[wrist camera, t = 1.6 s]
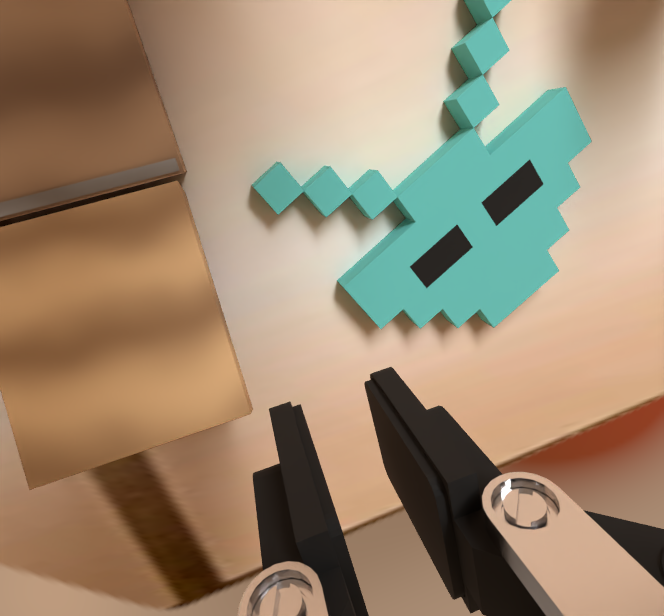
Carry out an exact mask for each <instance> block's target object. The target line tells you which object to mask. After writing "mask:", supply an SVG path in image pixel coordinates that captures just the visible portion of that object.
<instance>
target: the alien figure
mask: <svg viewBox="0 0 664 616" xmlns="http://www.w3.org/2000/svg"><path fill="white" fill-rule="evenodd" d="M510 1H511V0H464V2H465V4H466V5H467V7H468V9H469V11H470V13H471V15H472V17H473V19H474V20H475V22H476V24H477V25H476V26H475V27H474V28H473V29H472V30H471V31H470V32H469V33H468V34H467V35H466V36H464V37H463V38H462V39H461V40H460V41H459V42H458V43H457V44H456V45H455V46H454V47H453V48H451V50H452V51H453V53H454V55H455V57H456V58H457V60H458V62H459V64H460V65H461V67H462V69H463V70H464V72H465V74H466V76H467V77H468V79H467V80H466V81H465V82H464V83H463V84H462V85H461V86H460V87H459V88H458V89H457V90H455V91H454V92H453V93H452V94H451V95H450V96H449V97H448V98H447V99H446V100H445V101H443V102H444V104H445V105H446V107H447V109H448V110H449V112H450V113H451V115H452V117H453V118H454V120H455V122H456V123H457V125H458V126H459V128H460V130H459V131H457V132H456V133H455V134H454V135H453V136H452V137H451V138H450V139H449V140H448V141H446V142H445V143H444V144H443V145H442V146H441V147H440V148H439V149H438V150H437V151H435V152H434V153H433V154H432V155H431V156H430V157H429V158H428V159H427V160H426V161H424V162H423V163H422V164H421V165H420V166H419V167H418V168H417V169H416V170H415V171H413V172H412V173H411V174H410V175H409V176H408V177H407V178H406V179H405V180H404V181H402V182H401V183H400V184H399V185H398V186H397V187H396V188H395V189H394V190H392V189H391V188H390V186H389V185H388V184H387V182H386V181H385V180H384V178H383V177H382V175H381V174H380V173H379V171H378V170H370V169H369V170H368V171H367V172H366V173H365V174H364V175H363V176H361V177H360V178H359V179H358V180H357V181H356V182H355V183H354V184H353V185H352V186H351V187H349V188H347V187H346V186H345V184H344V183H343V182H342V181H341V179H340V178H339V177H338V175H337V174H336V173H335V172H334V170H333V169H332V168H331V167H330V166H323V167H322V168H321V169H320V170H319V171H318V172H317V173H316V174H315V175H314V176H313V177H311V178H310V179H309V180H308V181H307V182H306V183H305V184H304V185H303V186H302V187H301V186H300V185H299V184H298V183H297V182H296V180H295V179H294V178H293V177H292V176H291V175H290V173H289V172H288V171H287V170H286V169H285V167H284V166H283V165H282V164H281V163H280V162H276V163H275V164H274V165H273V166H272V167H271V168H270V169H268V170H267V171H266V172H265V173H264V174H263V175H262V176H261V177H260V178H259V179H258V180H257V181H256V182H254V183H253V184H252V186H253V187H254V189H255V190H256V191H257V192H258V193H259V194H260V195H261V196H262V197H263V199H264V200H265V201H266V202H267V203H268V204H269V205H270V206H271V207H272V209H273V210H274V211H275V212H276V213H277V214H280V213H281V212H282V211H283V210H284V209H285V208H286V207H287V206H288V205H289V204H290V203H292V202H293V201H294V200H295V199H296V198H297V197H298V196H299V195H300V194H301V193H302V192H303V193H304V194H305V196H306V197H307V198H308V199H309V200H310V202H311V203H312V204H313V205H314V206H315V207H316V209H317V210H318V211H319V212H320V213H321V214H322V215H324V216H325V217H327V216H329V215H330V214H331V213H332V212H333V211H334V210H335V209H336V208H337V207H338V206H340V205H341V204H342V203H343V202H344V201H345V200H346V199H347V198H348V197H350V199H351V200H352V201H353V202H354V204H355V205H356V206H357V207H358V209H359V210H360V211H361V212H362V214H363V215H364V216H365V217H368V218H370V219H372V220H373V219H374V218H375V217H376V216H377V215H378V214H379V213H380V212H382V211H383V210H384V209H385V208H386V207H387V206H388V205H389V204H390V203H391V202H394V203H395V204H396V206H397V207H398V208H399V210H400V211H401V212H402V214H403V215H404V216H405V218H406V219H405V220H404V221H402V222H401V223H400V224H399V225H398V226H397V227H396V228H395V229H394V230H392V231H391V232H390V233H389V234H388V235H387V236H386V237H385V238H384V239H383V240H381V241H380V242H379V243H378V244H377V245H376V246H375V247H374V248H373V249H371V250H370V251H369V252H368V253H367V254H366V255H365V256H364V257H363V258H361V259H360V260H359V261H358V262H357V263H356V264H355V265H354V266H353V267H352V268H350V269H349V270H348V271H347V272H346V273H345V274H344V275H343V276H342V277H340V278H339V279H338V280H337V281H338V282H339V283H340V284H341V285H342V287H343V288H344V289H345V290H346V291H347V292H348V293H349V294H350V295H351V297H352V298H353V299H354V300H355V301H356V302H357V303H358V304H359V306H360V307H361V308H362V309H363V310H364V311H365V312H366V313H367V314H368V316H369V317H370V318H371V319H372V320H373V321H374V322H375V323H376V324H377V326H378V327H379V328H380V329H382V328H383V327H384V326H385V325H386V324H387V323H388V322H389V321H391V320H392V319H393V318H394V317H395V316H396V315H397V314H398V313H400V312H401V311H402V310H403V312H404V313H405V314H406V315H407V316H408V317H409V319H410V320H411V321H412V322H413V323H414V324H416V325H417V326H418V327H419V328H422V327H423V326H424V325H425V324H426V323H427V322H428V321H430V320H431V319H432V318H433V317H434V316H435V315H436V314H437V313H439V312H441V313H442V314H443V316H444V317H445V318H446V319H447V320H448V321H449V322H450V323H452V324H453V325H454V326H456V327H457V328H459V327H460V326H461V325H462V324H463V323H464V322H466V321H467V320H468V319H469V318H470V317H471V316H472V315H474V314H475V313H477V314H478V316H479V317H480V318H481V320H483V321H484V322H486V323H487V324H489V325H490V326H492V327H495V326H497V325H498V324H499V323H500V322H501V321H502V320H503V319H504V318H506V317H507V316H508V315H509V314H510V313H511V312H512V311H514V310H515V309H516V308H517V307H518V306H519V305H520V304H522V303H523V302H524V301H525V300H526V299H527V298H528V297H530V296H531V295H532V294H533V293H534V292H535V291H536V290H538V289H539V288H540V287H541V286H542V285H543V284H544V283H546V282H547V281H548V280H549V279H550V278H551V277H552V276H554V275H555V274H556V273H557V272H558V271H559V269H558V268H557V266H556V264H555V263H554V261H553V259H552V258H551V256H550V254H549V253H548V251H547V249H549V248H550V247H551V246H552V245H553V244H554V243H555V242H556V241H558V240H559V239H560V238H561V237H562V236H563V235H564V234H566V233H567V232H568V231H569V229H568V227H567V225H566V223H565V221H564V220H563V218H562V216H561V214H560V212H559V211H558V209H557V207H558V206H560V205H561V204H562V203H563V202H564V201H565V200H566V199H567V198H569V197H570V196H571V195H572V194H573V193H574V192H575V191H576V190H578V189H579V188H580V186H579V184H578V182H577V180H576V178H575V176H574V174H573V172H572V170H571V168H570V166H569V164H568V162H569V161H570V160H572V159H573V158H574V157H575V156H576V155H577V154H578V153H579V152H581V151H582V150H583V149H584V148H585V147H586V146H587V145H588V144H590V143H591V142H592V141H591V139H590V137H589V135H588V133H587V130H586V128H585V126H584V124H583V122H582V120H581V118H580V116H579V114H578V112H577V110H576V107H575V105H574V103H573V101H572V99H571V97H570V95H569V93H568V91H567V89H566V87H563V88H558V89H552V90H547V91H546V92H545V93H544V94H543V95H542V96H541V97H540V98H538V99H537V100H536V101H535V102H534V103H533V104H532V105H531V106H530V107H529V108H527V109H526V110H525V111H524V112H523V113H522V114H521V115H520V116H519V117H517V118H516V119H515V120H514V121H513V122H512V123H511V124H510V125H509V126H508V127H506V128H505V129H504V130H503V131H502V132H501V133H500V134H499V135H498V136H496V137H495V138H494V139H493V140H492V141H491V142H490V143H489V144H488V145H486V146H484V144H483V143H482V141H481V139H480V138H479V136H478V134H477V133H476V131H475V129H474V127H475V126H476V125H478V124H479V123H480V122H481V121H482V120H483V119H484V118H485V117H486V116H487V115H489V114H490V113H491V112H492V111H493V110H494V109H495V108H496V107H497V106H498V105H499V103H498V101H497V99H496V98H495V96H494V94H493V92H492V90H491V89H490V87H489V85H488V83H487V81H486V80H485V78H484V76H483V74H484V73H485V72H486V71H487V70H489V69H490V68H491V67H492V66H493V65H494V64H495V63H496V62H497V61H498V60H499V59H501V58H502V57H503V56H504V55H505V54H506V53H507V52H508V51H509V48H508V46H507V44H506V43H505V41H504V39H503V37H502V35H501V33H500V31H499V29H498V27H497V25H496V23H495V21H494V19H493V17H494V16H495V15H496V14H497V13H498V12H499V11H500V10H501V9H502V8H503V7H505V6H506V5H507V4H508V3H509V2H510Z"/></svg>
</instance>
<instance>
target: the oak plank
mask: <svg viewBox="0 0 664 616" xmlns="http://www.w3.org/2000/svg"><path fill="white" fill-rule="evenodd" d="M0 389H1V393H2V396H3V400H4V403H5V407H6V410H7V414H8V417H9V421H10V424H11V427H12V431H13V434H14V438H15V441H16V445H17V448H18V452H19V455H20V459H21V462H22V465H23V469H24V472H25V476H26V479H27V483H28V486H29V490H31V489H34V488H37V487H40V486H43V485H46V484H49V483H51V482H54V481H57V480H60V479H63V478H66V477H69V476H72V475H75V474H78V473H80V472H83V471H86V470H89V469H92V468H95V467H98V466H101V465H104V464H107V463H110V462H112V461H115V460H118V459H121V458H124V457H127V456H130V455H133V454H136V453H139V452H142V451H144V450H147V449H150V448H153V447H156V446H159V445H162V444H165V443H168V442H171V441H173V440H176V439H179V438H182V437H185V436H188V435H191V434H194V433H197V432H200V431H203V430H205V429H208V428H211V427H214V426H217V425H220V424H223V423H226V422H229V421H232V420H235V419H237V418H240V417H243V416H246V415H249V414H251V412H252V410H253V408H252V404H251V401H250V398H249V395H248V392H247V388H246V385H245V382H244V379H243V376H242V372H241V369H240V366H239V363H238V360H237V357H236V353H235V350H234V347H233V344H232V341H231V337H230V334H229V331H228V328H227V325H226V321H225V318H224V315H223V312H222V309H221V306H220V302H219V299H218V296H217V293H216V290H215V286H214V283H213V280H212V277H211V274H210V270H209V267H208V264H207V261H206V258H205V255H204V251H203V248H202V245H201V242H200V239H199V235H198V232H197V229H196V226H195V223H194V219H193V216H192V213H191V210H190V207H189V204H188V200H187V197H186V194H185V192H184V190H183V188H182V187H181V185H180V183H179V182H178V181H174V182H170V183H166V184H163V185H159V186H155V187H151V188H147V189H144V190H140V191H136V192H132V193H128V194H125V195H121V196H117V197H113V198H109V199H106V200H102V201H98V202H94V203H90V204H87V205H83V206H79V207H75V208H71V209H68V210H64V211H60V212H56V213H52V214H49V215H45V216H41V217H37V218H33V219H30V220H26V221H22V222H18V223H14V224H11V225H7V226H3V227H0Z"/></svg>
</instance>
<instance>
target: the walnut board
mask: <svg viewBox="0 0 664 616" xmlns="http://www.w3.org/2000/svg"><path fill="white" fill-rule="evenodd" d="M185 172H187V171H186V168H185V165H184V162H183V159H182V156H181V154H180V151H179V148H178V145H177V142H176V139H175V136H174V134H173V131H172V128H171V125H170V122H169V119H168V116H167V114H166V111H165V108H164V105H163V102H162V99H161V96H160V94H159V91H158V88H157V85H156V82H155V79H154V76H153V73H152V71H151V68H150V65H149V62H148V59H147V56H146V53H145V51H144V48H143V45H142V42H141V39H140V36H139V33H138V31H137V28H136V25H135V22H134V19H133V16H132V13H131V11H130V8H129V5H128V2H127V0H0V221H3V220H6V219H10V218H14V217H18V216H22V215H26V214H29V213H33V212H37V211H41V210H45V209H49V208H52V207H56V206H60V205H64V204H68V203H72V202H75V201H79V200H83V199H87V198H91V197H95V196H98V195H102V194H106V193H110V192H114V191H118V190H121V189H125V188H129V187H133V186H137V185H141V184H144V183H148V182H152V181H156V180H160V179H164V178H167V177H171V176H175V175H179V174H183V173H185Z"/></svg>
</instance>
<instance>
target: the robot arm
mask: <svg viewBox="0 0 664 616" xmlns="http://www.w3.org/2000/svg"><path fill="white" fill-rule="evenodd" d="M370 378H371V380H369V381H366V382H365V389H366V393H367V397H368V401H369V405H370V410H371V414H372V418H373V422H374V426H375V430H376V434H377V438H378V442H379V447H380V451H381V455H382V459H383V463H384V467H385V470H386V472H387V475H388V477H389V479H390V481H391V483H392V485H393V487H394V489H395V491H396V493H397V494H398V496H399V498H400V500H401V502H402V504H403V506H404V508H405V510H406V512H407V513H408V515H409V517H410V519H411V521H412V523H413V525H414V527H415V529H416V531H417V532H418V534H419V536H420V538H421V540H422V542H423V544H424V546H425V548H426V550H427V552H428V553H429V555H430V557H431V559H432V561H433V563H434V565H435V567H436V569H437V571H438V573H439V574H440V576H441V578H442V580H443V582H444V584H445V586H446V588H447V590H448V592H449V593H450V595H451V597H452V598H453V599H457V598H459V597H462V598H463V600H464V602H465V604H466V606H467V608H468V610H469V611H470V613H473V612H475V611H477V610H479V609H480V611H481V612H482V614H483V615H486V616H664V529H661V528H656V527H652V526H648V525H643V524H639V523H635V522H630V521H626V520H622V519H618V518H614V517H609V516H605V515H601V514H597V513H593V512H588V511H584V510H582V509H581V508H580V507H579V506H578V505H577V504H576V503H575V502H574V501H573V500H572V499H571V498H570V497H568V495H566V494H565V493H564V492H563V491H562V490H561V489H560V488H559V487H558V486H557V485H555V484H554V483H552V482H551V481H550V480H548V479H546V478H543V477H541V476H539V475H536V474H531V473H526V472H511V473H507V474H502V473H501V472H500V471H499V470H498V469H497V468H496V466H495V465H494V464H493V463H492V462H491V461H490V460H489V458H488V457H487V456H486V455H485V454H484V453H483V452H482V450H481V449H480V448H479V447H478V446H477V445H476V444H475V442H474V441H473V440H472V439H471V438H470V437H469V436H468V435H467V433H466V432H465V431H464V430H463V429H462V428H461V427H460V425H459V424H458V423H457V422H456V421H455V420H454V419H453V417H452V416H451V415H450V414H449V413H448V412H447V411H446V410H445V409H444V408H443V407H442V406H437V407H434V408H431V409H428V410H426V409H425V407H424V406H423V405H422V404H421V402H420V401H419V400H418V399H417V397H416V396H415V395H414V394H413V393H412V391H411V390H410V389H409V388H408V386H407V385H406V384H405V383H404V381H403V380H402V379H401V378H400V376H399V375H398V374H397V373H396V371H395V370H394V369H393V368H392V367H389V368H386V369H383V370H380V371H377V372H374V373H372V374H370ZM269 412H270V417H271V421H272V426H273V431H274V436H275V441H276V446H277V451H278V456H279V461H280V464H277V465H274V466H271V467H269V468H266V469H263V470H260V471H258V472H255V473H253V484H254V493H255V502H256V511H257V520H258V529H259V538H260V547H261V556H262V565H263V571H262V572H261V573H260V574H259V575H258V576H257V577H255V578H254V579H253V580H252V582H251V583H250V585H249V586H248V587H247V589H246V590H245V591H244V594H243V596H242V599H241V601H240V604H239V609H238V616H369V615H368V612H367V609H366V606H365V603H364V599H363V596H362V593H361V590H360V587H359V583H358V580H357V577H356V574H355V571H354V567H353V564H352V561H351V558H350V555H349V552H348V549H347V545H346V542H345V539H344V536H343V532H342V529H341V526H340V523H339V520H338V517H337V514H336V511H335V508H334V505H333V502H332V499H331V496H330V493H329V489H328V486H327V483H326V480H325V477H324V474H323V471H322V468H321V465H320V462H319V459H318V456H317V453H316V450H315V447H314V444H313V441H312V438H311V435H310V432H309V429H308V426H307V423H306V420H305V417H304V414H303V410H302V407H301V404H300V405H297V406H294V407H292V405H291V402H287V403H284V404H281V405H279V406H276V407H273V408H270V409H269Z"/></svg>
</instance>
